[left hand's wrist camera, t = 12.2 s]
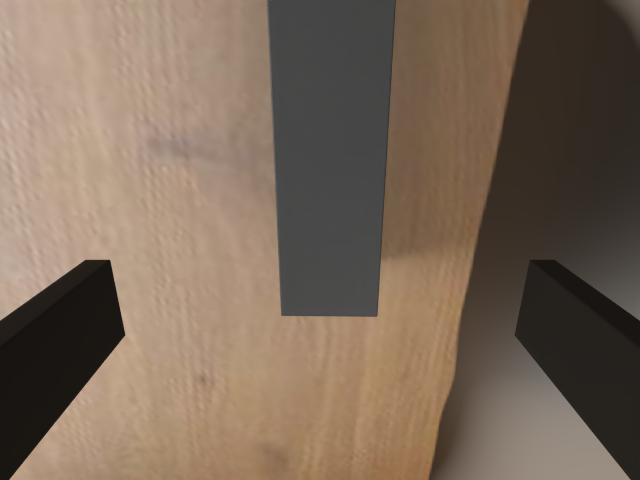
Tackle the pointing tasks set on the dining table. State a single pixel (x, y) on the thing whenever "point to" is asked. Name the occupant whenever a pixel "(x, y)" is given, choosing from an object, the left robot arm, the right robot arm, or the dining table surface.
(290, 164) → the post
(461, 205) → the dining table surface
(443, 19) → the dining table surface
